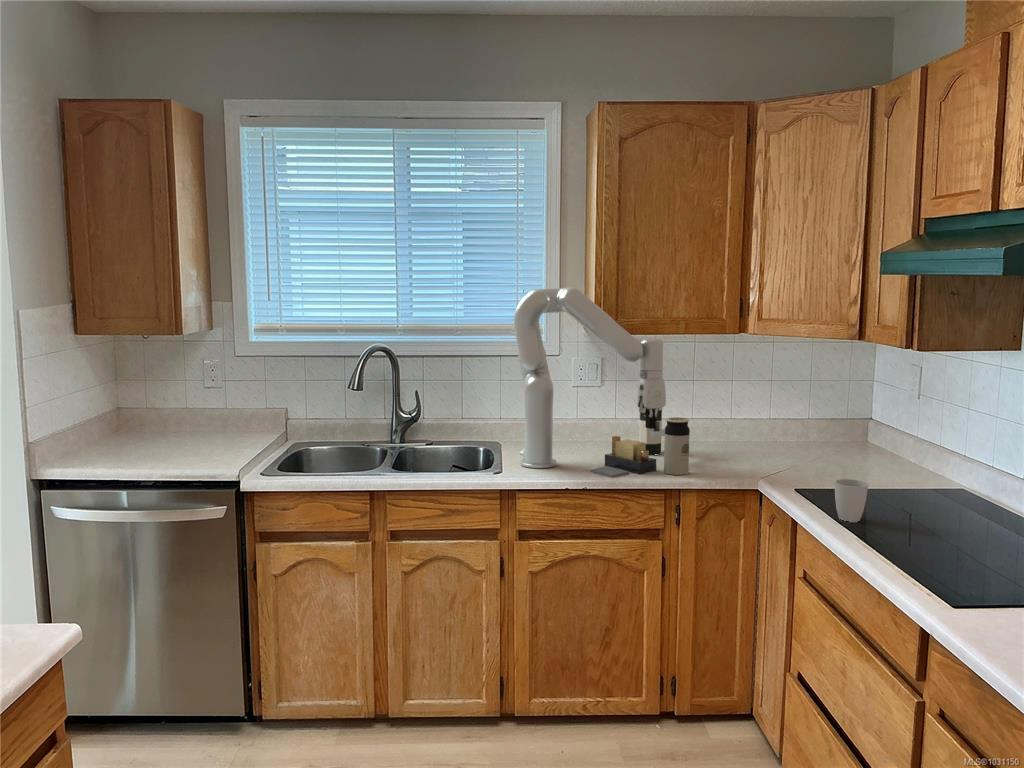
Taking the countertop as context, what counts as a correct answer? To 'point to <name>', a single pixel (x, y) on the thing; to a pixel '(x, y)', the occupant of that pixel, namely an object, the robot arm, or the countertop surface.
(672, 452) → the travel mug
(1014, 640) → the countertop surface
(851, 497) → the cup
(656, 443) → the wine bottle
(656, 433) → the bar
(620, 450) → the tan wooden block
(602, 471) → the rubber mat
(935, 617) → the countertop surface
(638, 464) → the dark slate base plate
